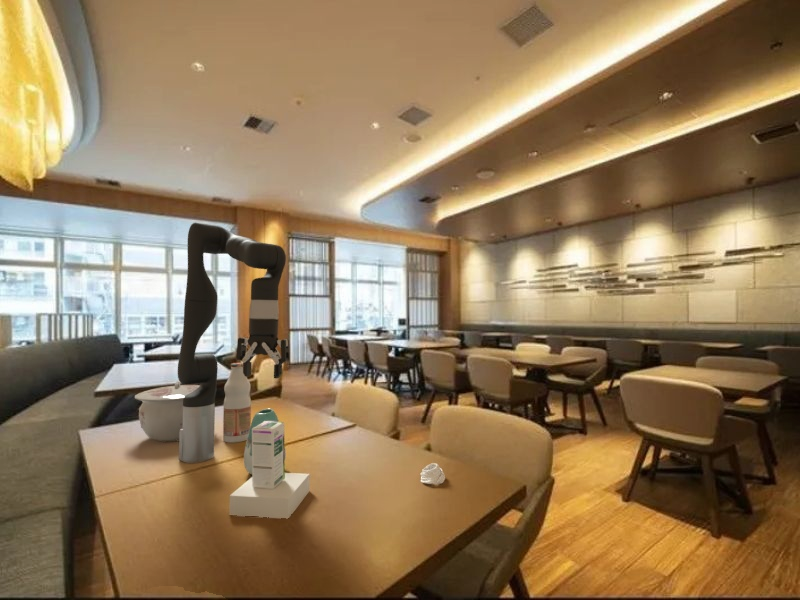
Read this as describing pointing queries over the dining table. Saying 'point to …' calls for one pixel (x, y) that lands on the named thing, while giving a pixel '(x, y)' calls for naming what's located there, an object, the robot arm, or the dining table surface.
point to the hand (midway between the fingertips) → (262, 377)
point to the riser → (270, 497)
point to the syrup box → (268, 454)
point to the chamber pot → (163, 411)
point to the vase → (257, 419)
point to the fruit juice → (237, 406)
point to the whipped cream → (432, 474)
